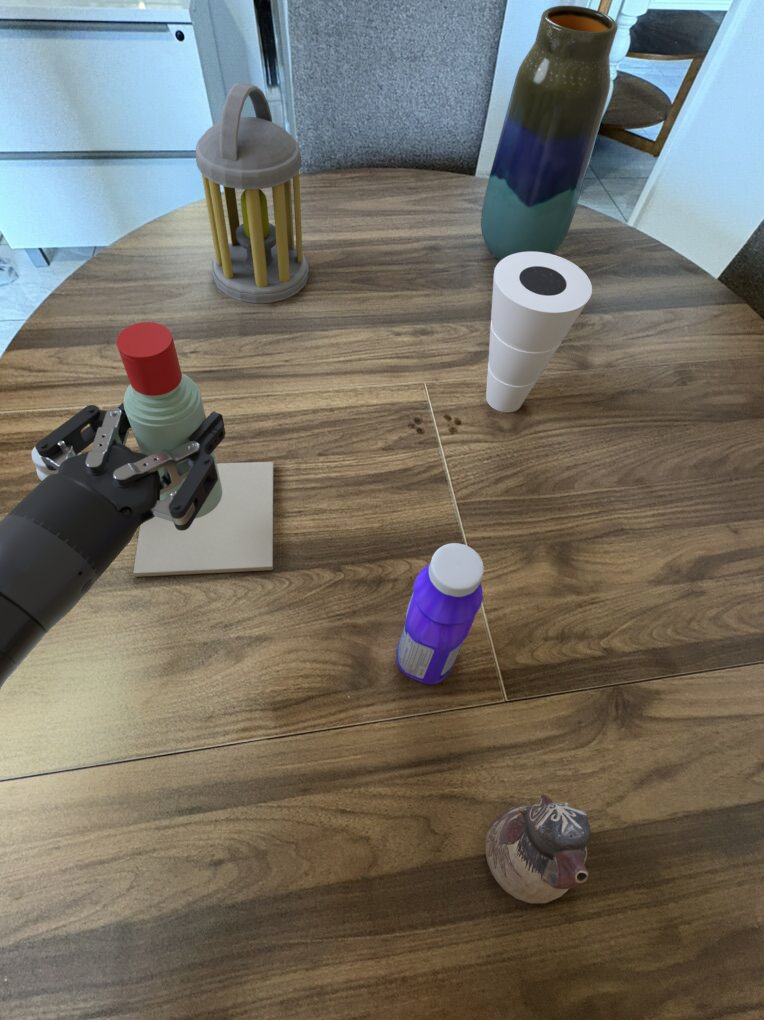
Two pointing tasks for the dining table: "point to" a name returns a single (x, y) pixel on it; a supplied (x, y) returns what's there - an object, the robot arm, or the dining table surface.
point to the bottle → (440, 613)
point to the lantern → (253, 201)
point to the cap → (149, 358)
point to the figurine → (538, 850)
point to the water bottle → (169, 426)
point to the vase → (548, 133)
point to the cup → (529, 321)
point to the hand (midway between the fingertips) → (186, 406)
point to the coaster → (216, 530)
